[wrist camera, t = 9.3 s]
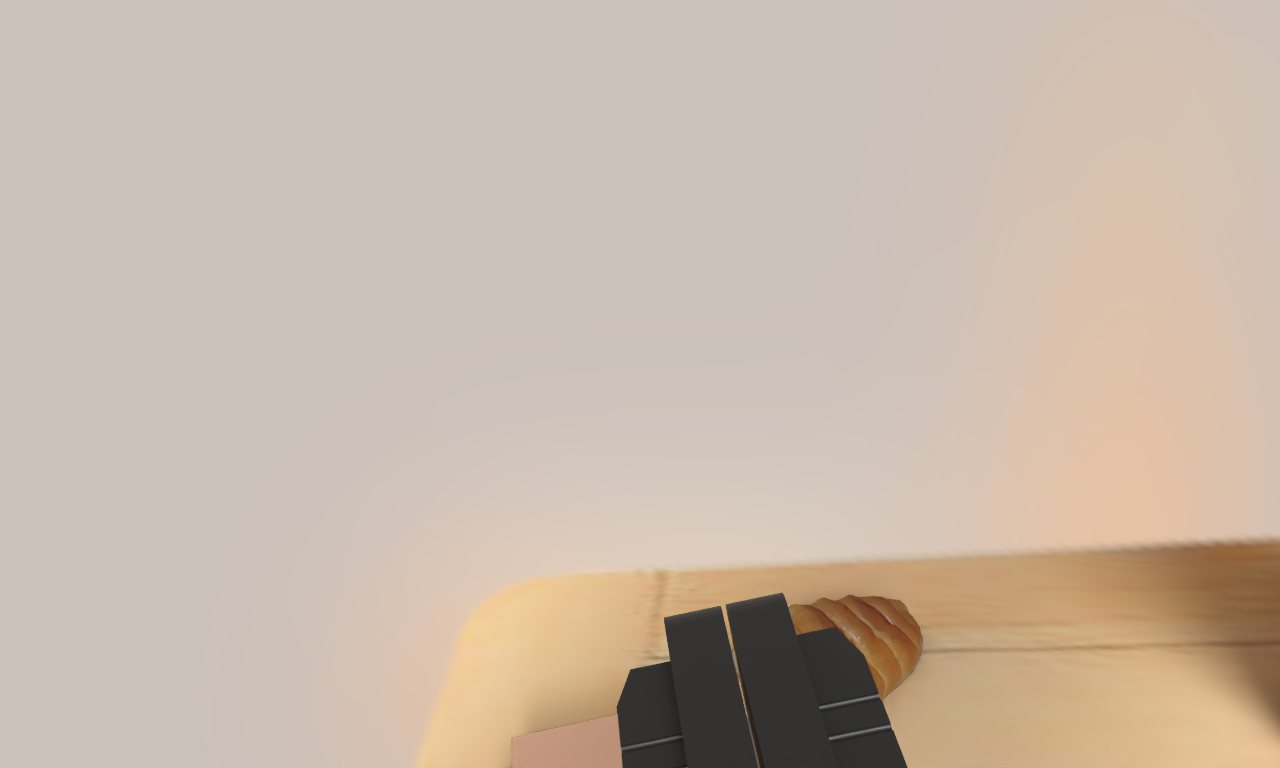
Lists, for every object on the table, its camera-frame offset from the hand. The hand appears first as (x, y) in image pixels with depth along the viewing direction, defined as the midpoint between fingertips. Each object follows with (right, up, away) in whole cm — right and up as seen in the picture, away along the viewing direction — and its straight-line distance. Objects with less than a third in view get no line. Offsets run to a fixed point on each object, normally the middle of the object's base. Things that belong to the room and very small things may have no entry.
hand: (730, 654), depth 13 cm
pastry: (+8, -12, +38) cm, 41 cm away
